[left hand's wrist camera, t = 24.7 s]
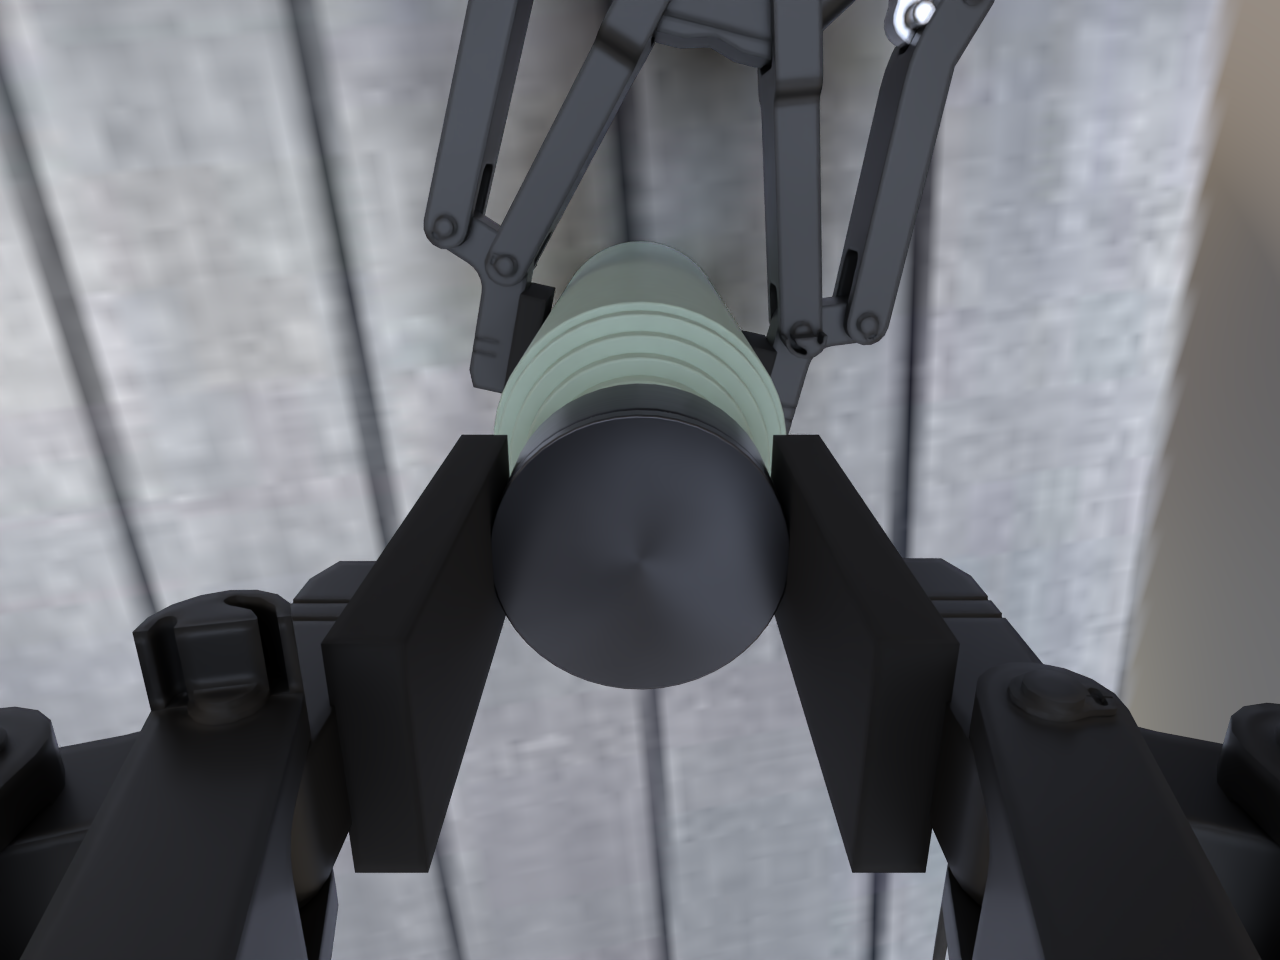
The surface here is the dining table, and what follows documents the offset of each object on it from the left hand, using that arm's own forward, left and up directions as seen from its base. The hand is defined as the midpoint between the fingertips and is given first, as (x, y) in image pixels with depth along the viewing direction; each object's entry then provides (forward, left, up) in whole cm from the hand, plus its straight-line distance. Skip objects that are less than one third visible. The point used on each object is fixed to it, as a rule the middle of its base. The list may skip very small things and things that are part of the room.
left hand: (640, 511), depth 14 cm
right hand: (-5, -1, -12) cm, 13 cm away
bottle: (0, 0, -18) cm, 18 cm away
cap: (0, 0, +2) cm, 2 cm away
